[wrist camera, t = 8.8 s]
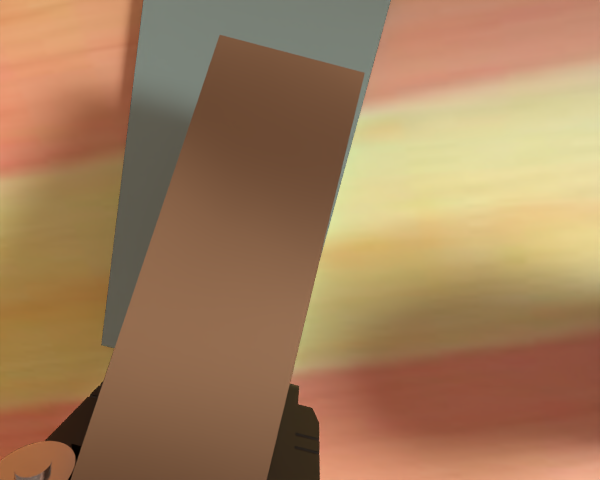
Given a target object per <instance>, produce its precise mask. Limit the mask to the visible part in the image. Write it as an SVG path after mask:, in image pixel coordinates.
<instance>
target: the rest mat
mask: <svg viewBox="0 0 600 480" xmlns="http://www.w3.org/2000/svg"><path fill="white" fill-rule="evenodd" d="M390 1H391V0H143V8H142V16H141V24H140V32H139V41H138V49H137V57H136V65H135V73H134V82H133V90H132V98H131V106H130V114H129V123H128V131H127V139H126V147H125V155H124V164H123V172H122V180H121V188H120V196H119V205H118V213H117V221H116V229H115V237H114V246H113V254H112V262H111V270H110V278H109V287H108V295H107V303H106V311H105V319H104V328H103V336H102V344H101V345H103V346H107V347H111V348H115V346H116V343H117V340H118V337H119V334H120V331H121V328H122V325H123V322H124V319H125V316H126V313H127V310H128V307H129V304H130V301H131V298H132V295H133V292H134V289H135V286H136V283H137V280H138V277H139V274H140V271H141V268H142V265H143V262H144V259H145V256H146V253H147V250H148V247H149V244H150V241H151V238H152V235H153V232H154V229H155V226H156V223H157V220H158V217H159V214H160V211H161V208H162V205H163V202H164V199H165V196H166V193H167V190H168V187H169V184H170V181H171V178H172V176H173V173H174V170H175V167H176V164H177V161H178V158H179V155H180V152H181V149H182V146H183V143H184V140H185V137H186V134H187V131H188V128H189V125H190V122H191V119H192V116H193V113H194V110H195V107H196V104H197V101H198V98H199V95H200V92H201V89H202V86H203V83H204V80H205V77H206V74H207V71H208V68H209V65H210V62H211V59H212V56H213V53H214V50H215V47H216V44H217V41H218V38H219V35H223V36H227V37H231V38H234V39H238V40H242V41H246V42H250V43H253V44H257V45H261V46H265V47H269V48H273V49H276V50H280V51H284V52H288V53H292V54H295V55H299V56H303V57H307V58H311V59H314V60H318V61H322V62H326V63H330V64H333V65H337V66H341V67H345V68H349V69H352V70H356V71H360V72H364V73H365V74H364V78H363V82H362V87H361V91H360V95H359V99H358V103H357V107H356V111H355V116H354V120H353V124H352V128H351V132H350V136H349V140H348V145H347V149H346V153H345V157H344V161H343V165H342V169H341V174H340V178H339V182H338V186H337V190H336V194H335V198H334V203H333V207H332V211H331V215H330V219H329V223H328V227H327V231H328V228H329V224H330V221H331V217H332V213H333V210H334V206H335V202H336V199H337V195H338V191H339V188H340V184H341V180H342V177H343V173H344V169H345V166H346V162H347V158H348V155H349V151H350V147H351V144H352V140H353V136H354V133H355V129H356V125H357V122H358V118H359V114H360V111H361V107H362V103H363V100H364V96H365V93H366V89H367V85H368V82H369V78H370V74H371V71H372V67H373V63H374V60H375V56H376V52H377V49H378V45H379V41H380V38H381V34H382V30H383V27H384V23H385V19H386V16H387V12H388V8H389V5H390ZM326 235H327V232H326ZM325 239H326V236H325ZM324 242H325V240H324ZM323 246H324V244H323ZM322 250H323V248H322ZM321 253H322V252H321ZM320 257H321V256H320Z"/></svg>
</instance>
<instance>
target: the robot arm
mask: <svg viewBox="0 0 600 480" xmlns="http://www.w3.org/2000/svg"><path fill="white" fill-rule="evenodd" d="M102 384H103V382H102V383H101V385H100V386H98V387H97V388H96V389H95V390H94V391H93V392H92V393H91V395H90V397H87V398H86V399H85V401H84V402H83V403H82V404H81V405H80V406H79V407H78V408H77V409H76V410H75V411H74V412H73V413H72V414H71V415H70V416H69V417H68V418H67V419H66V420H65V421H64V422H63V423H62V424H61V425H60V426H59V427H58V428H57V429H56V430H55V431H54V432H53V433H52V434H51V435H50V436H49V437H48V438H47V439H46V440H45V441H42V442H37V443H32V444H29V445H26V446H24V447H21V448H19V449H17V450H15V451H13V452H12V453H10V454H9V455H7V456H6V457H4V458H3V459H2V460H1V461H0V480H71V477H72V474H73V471H74V468H75V465H76V462H77V459H78V456H79V453H80V450H81V447H82V444H83V441H84V438H85V435H86V432H87V429H88V426H89V423H90V420H91V417H92V414H93V411H94V408H95V405H96V402H97V399H98V396H99V393H100V390H101V387H102ZM298 394H299V386H297V385H293V384H290V385H289V389H288V393H287V397H286V401H285V405H284V410H283V414H282V418H281V422H280V426H279V430H278V434H277V439H276V443H275V447H274V451H273V455H272V459H271V463H270V468H269V472H268V476H267V480H320V467H319V422H318V420H317V417H316V415H315V413H314V411H313V409H312V408H310V407H306V406H302V405H298Z"/></svg>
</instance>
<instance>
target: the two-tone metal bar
mask: <svg viewBox="0 0 600 480" xmlns="http://www.w3.org/2000/svg"><path fill="white" fill-rule="evenodd" d="M364 74H365V73H364V72H360V71H356V70H352V69H349V68H345V67H341V66H337V65H333V64H330V63H326V62H322V61H318V60H314V59H311V58H307V57H303V56H299V55H295V54H292V53H288V52H284V51H280V50H276V49H273V48H269V47H265V46H261V45H257V44H253V43H250V42H246V41H242V40H238V39H234V38H231V37H227V36H223V35H219V38H218V41H217V44H216V47H215V50H214V53H213V56H212V59H211V62H210V65H209V68H208V71H207V74H206V77H205V80H204V83H203V86H202V89H201V92H200V95H199V98H198V101H197V104H196V107H195V110H194V113H193V116H192V119H191V122H190V125H189V128H188V131H187V134H186V137H185V140H184V143H183V146H182V149H181V152H180V155H179V158H178V161H177V164H176V167H175V170H174V173H173V176H172V178H171V181H170V184H169V187H168V190H167V193H166V196H165V199H164V202H163V205H162V208H161V211H160V214H159V217H158V220H157V223H156V226H155V229H154V232H153V235H152V238H151V241H150V244H149V247H148V250H147V253H146V256H145V259H144V262H143V265H142V268H141V271H140V274H139V277H138V280H137V283H136V286H135V289H134V292H133V295H132V298H131V301H130V304H129V307H128V310H127V313H126V316H125V319H124V322H123V325H122V328H121V331H120V334H119V337H118V340H117V343H116V346H115V349H114V352H113V355H112V358H111V361H110V364H109V366H108V369H107V372H106V375H105V378H104V381H103V384H102V387H101V390H100V393H99V396H98V399H97V402H96V405H95V408H94V411H93V414H92V417H91V420H90V423H89V426H88V429H87V432H86V435H85V438H84V441H83V444H82V447H81V450H80V453H79V456H78V459H77V462H76V465H75V468H74V471H73V474H72V477H71V480H267V476H268V472H269V468H270V463H271V459H272V455H273V451H274V447H275V443H276V439H277V434H278V430H279V426H280V422H281V418H282V414H283V410H284V405H285V401H286V397H287V393H288V389H289V385H290V381H291V376H292V372H293V368H294V364H295V360H296V356H297V352H298V347H299V343H300V339H301V335H302V331H303V327H304V323H305V318H306V314H307V310H308V306H309V302H310V298H311V294H312V290H313V285H314V281H315V277H316V273H317V269H318V265H319V261H320V256H321V252H322V248H323V244H324V240H325V236H326V232H327V227H328V223H329V219H330V215H331V211H332V207H333V203H334V198H335V194H336V190H337V186H338V182H339V178H340V174H341V169H342V165H343V161H344V157H345V153H346V149H347V145H348V140H349V136H350V132H351V128H352V124H353V120H354V116H355V111H356V107H357V103H358V99H359V95H360V91H361V87H362V82H363V78H364Z"/></svg>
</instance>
